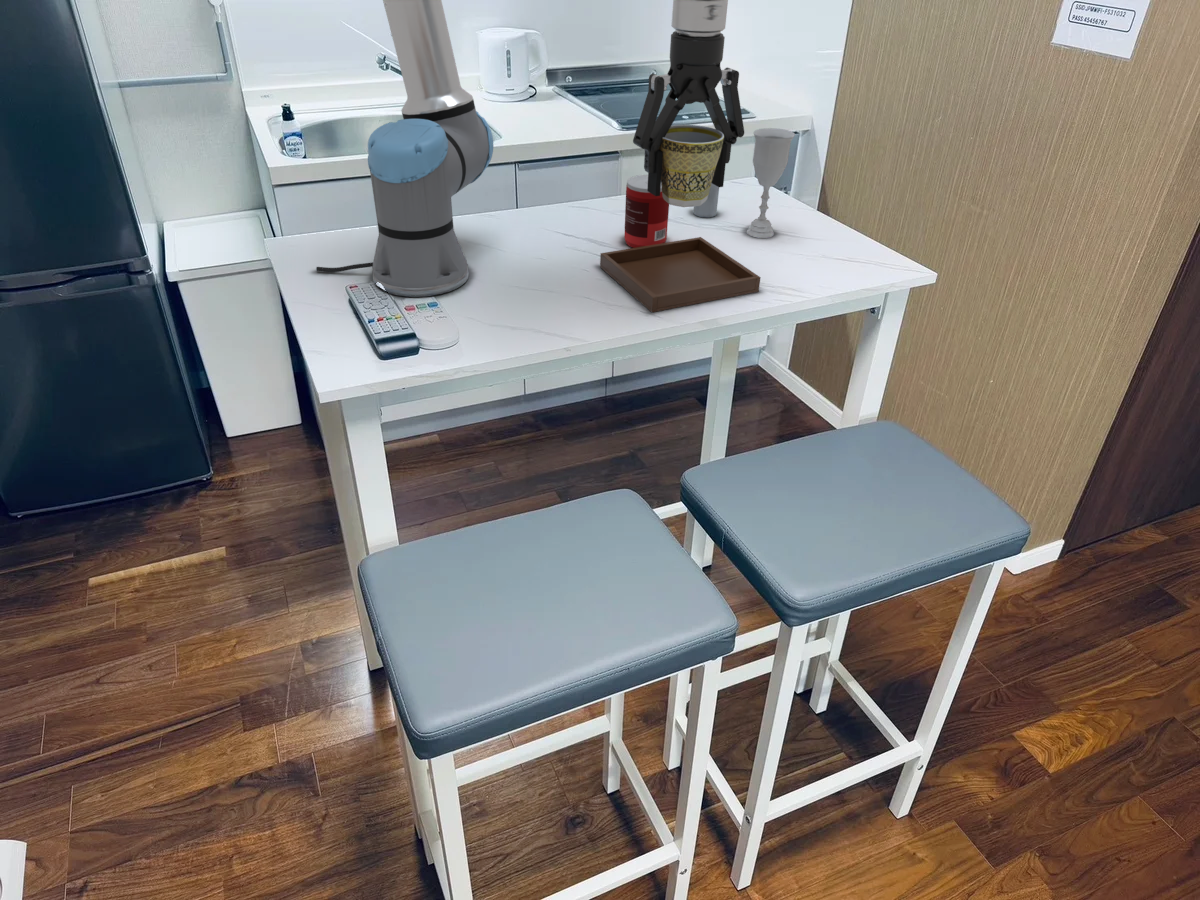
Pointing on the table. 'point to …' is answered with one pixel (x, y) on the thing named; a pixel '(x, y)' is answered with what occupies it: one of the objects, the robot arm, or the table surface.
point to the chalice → (768, 171)
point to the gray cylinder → (708, 204)
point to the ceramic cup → (689, 163)
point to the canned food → (644, 214)
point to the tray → (678, 273)
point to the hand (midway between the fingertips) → (685, 188)
